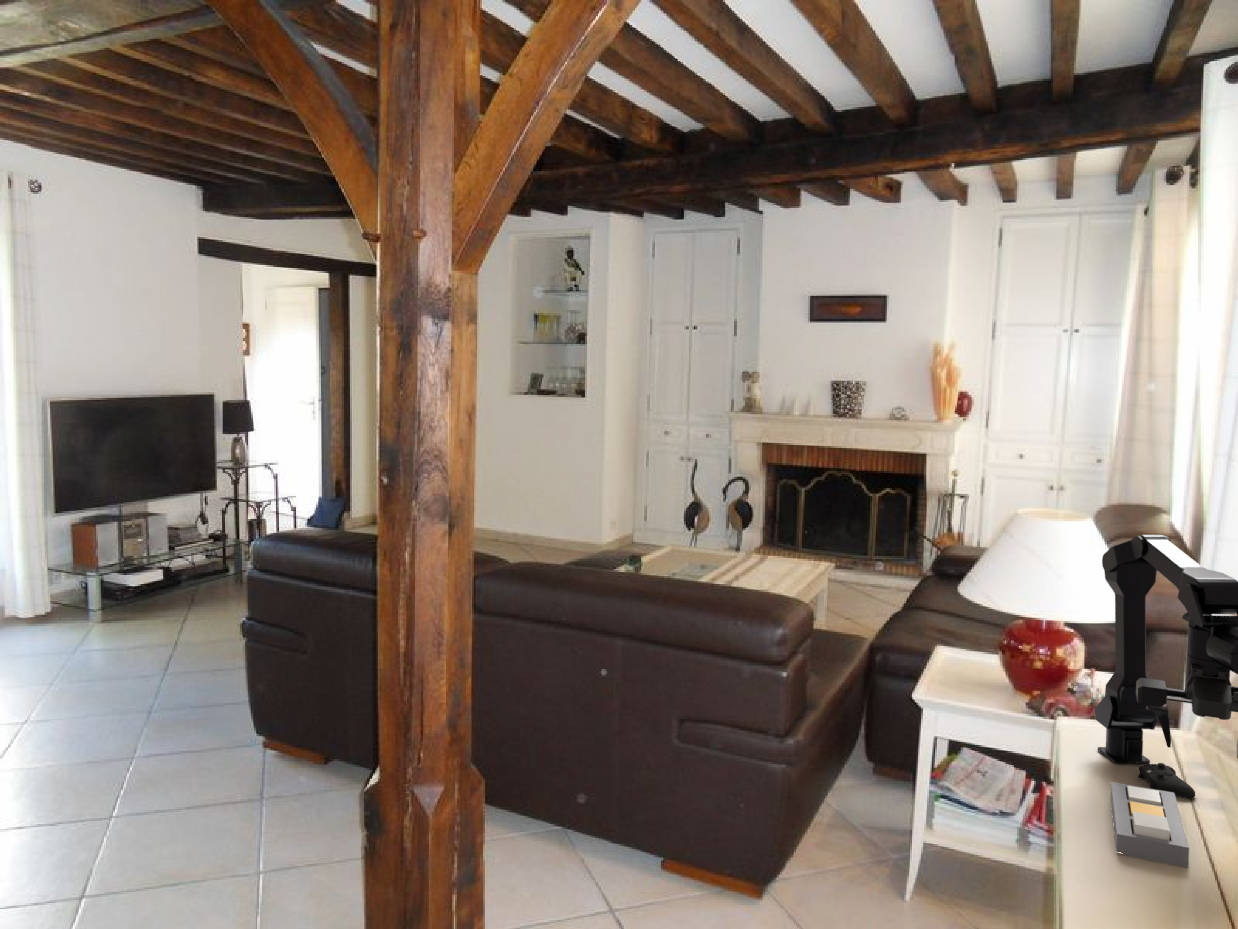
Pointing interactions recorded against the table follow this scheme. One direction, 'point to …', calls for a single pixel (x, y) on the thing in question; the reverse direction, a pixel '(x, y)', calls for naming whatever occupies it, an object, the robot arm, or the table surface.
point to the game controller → (1165, 780)
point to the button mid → (1145, 809)
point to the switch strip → (1142, 845)
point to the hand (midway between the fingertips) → (1203, 752)
